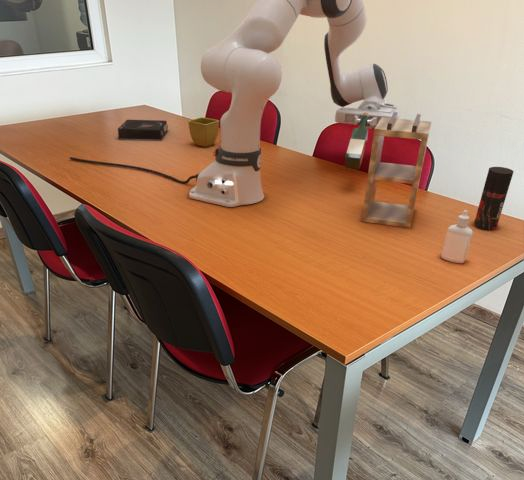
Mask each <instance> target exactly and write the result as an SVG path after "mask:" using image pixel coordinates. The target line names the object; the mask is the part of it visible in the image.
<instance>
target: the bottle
mask: <svg viewBox="0 0 524 480" xmlns="http://www.w3.org/2000/svg"><path fill="white" fill-rule="evenodd" d="M368 119H369V114H368V113H363V114H362V118H361V121H360V125H358V127H353V129H352V132H351V136H350V139H349V142H348V146H347V149H346V153H345V156H344V157H345V159H344V160H345V161H344V166H345V167H344V168H345V169H346V168H347V169H354V170H360V169H361V165H362V161H363V158H364V155H365V150H366V147H367V144H368V136H369V129H366V126H367V120H368Z"/></svg>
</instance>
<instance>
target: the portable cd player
mask: <svg viewBox="0 0 524 480" xmlns="http://www.w3.org/2000/svg"><path fill="white" fill-rule="evenodd" d="M168 130H169V125H168V122H167V120H161V119H160V120H159V119H157V120H155V119H126V120H125V121H124V122H123V123H122V124H121V125H120V126H119V127H118V128H117V133H118V140H120V141H121V140H122V141H124V140H126V141H155V142H157V141H159V142H160V141H161V140H162V139H163V138H164V136H165V135H166V133H167V132H168Z"/></svg>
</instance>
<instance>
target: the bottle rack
mask: <svg viewBox="0 0 524 480" xmlns="http://www.w3.org/2000/svg"><path fill="white" fill-rule="evenodd" d="M397 114H398V112H394V113H393V115H392V117H391V118H385V117H382V118H381V119H380V121H379V122H378V124H377V126H376V127H375V128H373V136H372V143H371V152H370V157H369V165H368V171H367V172H368V173H367V180H366V186H365V193H364V200H363V207H362V215H361V222H363V223H372V224H378V225H387V226H393V227H400V228H407V229H410V228H411V223H412V220H413V215H414V212H415V211H414V210H415V205H416V201H417V196H418V192H419V186H420V181H421V176H422V171H423V167H424V161H425V156H426V153H427V152H426V151H427V146H428V142H429V135H430V132H431V126H432V121H430V120H421V117H422V114H421V113H417V114H416V116H415V118H414V119H406V118H399V119H397ZM385 137H389V138H400V139H412V140H420V145H419V150H418V154H417V158H416V159H417V160H416V163H415V164H416V165H410V164H409V165H408V164H401V163H392V162H382V161H381V159H382V152H383V147H384V140H385ZM378 181H383V182H392V183H393V182H394V183H400V184H410V185H411V191H410V196H409V201H408V205H407V204H400V203H394V202H393V203H390V202H385V201H377V200H376V191H377V186H378Z"/></svg>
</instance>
